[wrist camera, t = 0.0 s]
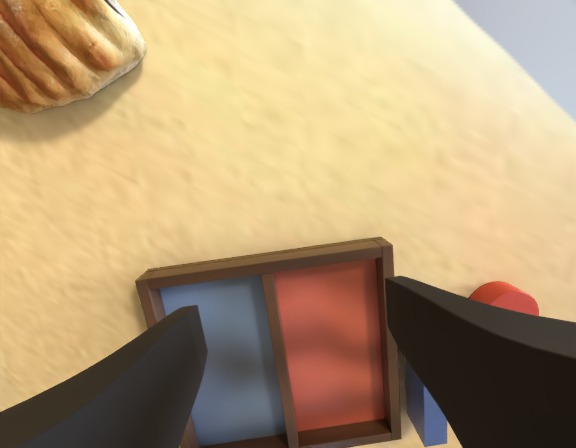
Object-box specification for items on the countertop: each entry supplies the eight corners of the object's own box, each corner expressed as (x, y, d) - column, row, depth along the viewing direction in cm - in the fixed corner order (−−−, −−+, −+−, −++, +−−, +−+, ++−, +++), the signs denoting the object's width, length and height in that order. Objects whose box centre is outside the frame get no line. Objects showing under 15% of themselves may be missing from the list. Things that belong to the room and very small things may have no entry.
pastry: (51, 144, 18) (-7, 139, 14) (-33, 50, 17) (-121, 17, 13) (162, 53, 17) (130, 23, 13) (83, -53, 16) (23, -120, 12)
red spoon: (512, 396, 24) (544, 428, 22) (464, 404, 24) (489, 437, 21) (520, 277, 22) (558, 295, 19) (466, 285, 22) (496, 304, 19)
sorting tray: (391, 416, 24) (401, 439, 22) (194, 446, 24) (187, 472, 22) (381, 236, 21) (393, 244, 19) (148, 268, 20) (134, 280, 18)
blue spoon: (440, 407, 24) (463, 441, 21) (392, 415, 24) (408, 449, 21) (440, 289, 22) (466, 308, 19) (385, 296, 22) (403, 317, 19)
